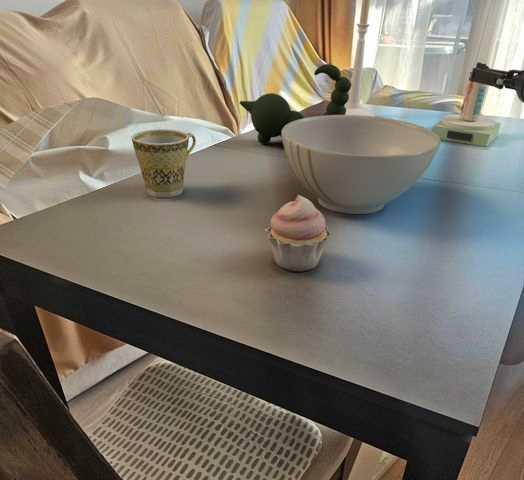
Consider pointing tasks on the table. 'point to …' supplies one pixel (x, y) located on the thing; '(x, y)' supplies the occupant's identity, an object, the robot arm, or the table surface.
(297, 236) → the cupcake
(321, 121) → the decorative bowl
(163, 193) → the ceramic cup
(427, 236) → the table surface
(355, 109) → the candlestick
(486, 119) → the kitchen scale
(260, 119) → the toy figurine
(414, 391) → the table surface
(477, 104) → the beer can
